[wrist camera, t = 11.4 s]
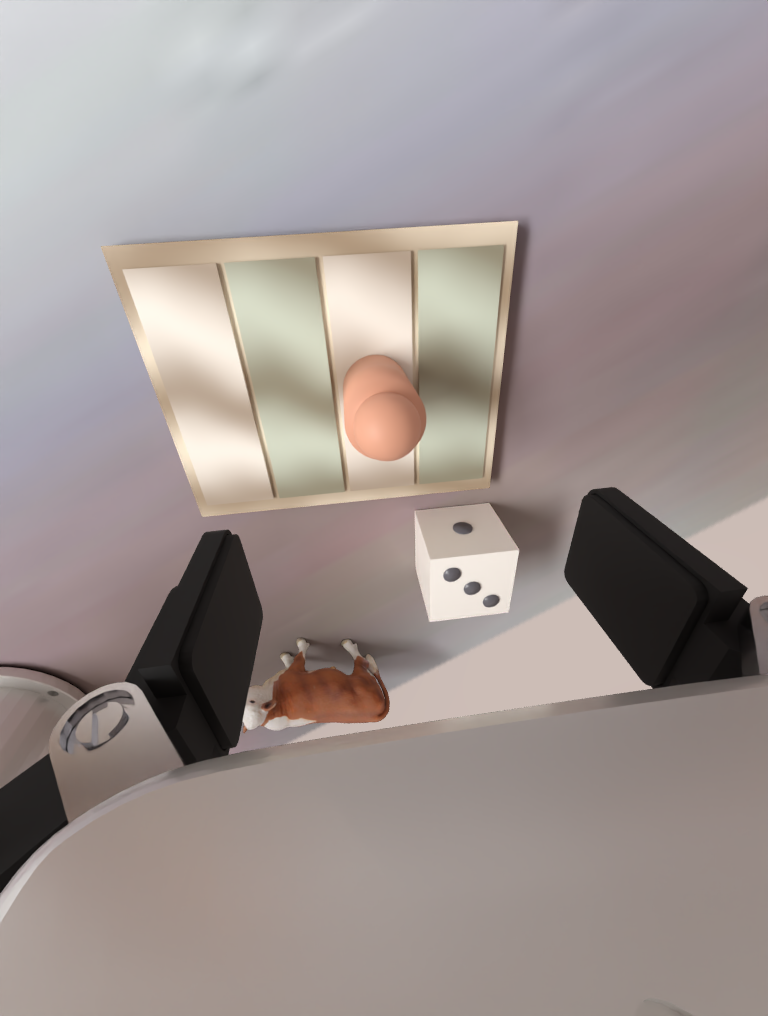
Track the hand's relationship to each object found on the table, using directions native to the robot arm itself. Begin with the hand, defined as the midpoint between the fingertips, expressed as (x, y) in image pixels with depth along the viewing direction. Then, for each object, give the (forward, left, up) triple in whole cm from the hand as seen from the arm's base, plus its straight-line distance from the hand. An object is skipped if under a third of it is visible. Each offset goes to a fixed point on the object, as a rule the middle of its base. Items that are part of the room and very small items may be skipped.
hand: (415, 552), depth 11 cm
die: (-13, -6, -17) cm, 22 cm away
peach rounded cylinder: (0, 0, -16) cm, 16 cm away
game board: (0, +2, -17) cm, 17 cm away
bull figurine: (-25, +7, -17) cm, 31 cm away
